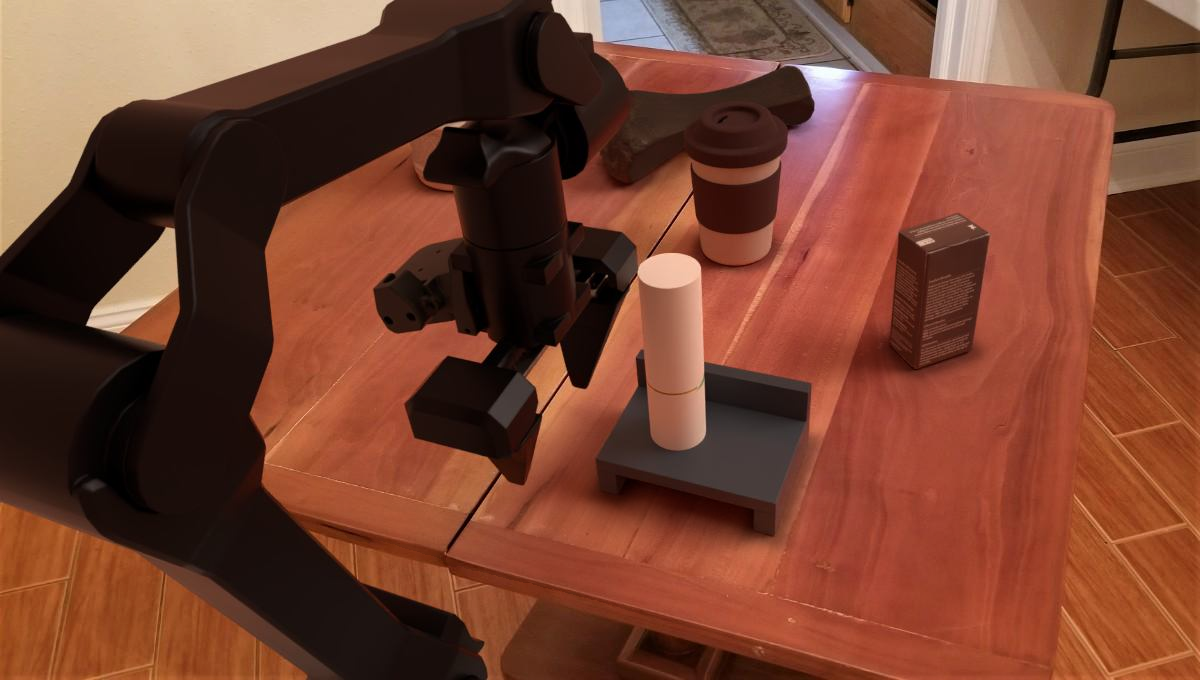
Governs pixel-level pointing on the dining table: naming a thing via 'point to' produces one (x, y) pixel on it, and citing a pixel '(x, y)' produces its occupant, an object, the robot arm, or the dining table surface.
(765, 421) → the shelf
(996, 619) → the dining table surface
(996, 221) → the dining table surface
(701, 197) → the coffee cup
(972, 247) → the box
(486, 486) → the dining table surface
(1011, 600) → the dining table surface
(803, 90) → the dark brown bone
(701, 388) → the tube
